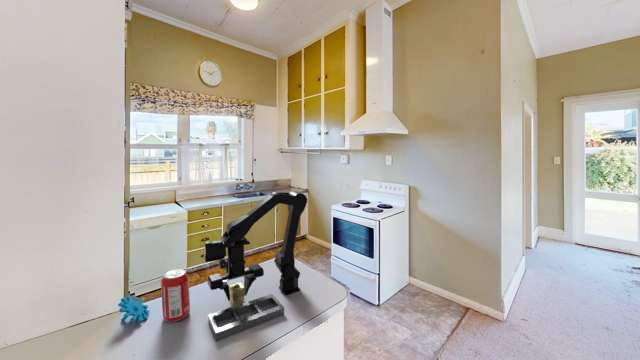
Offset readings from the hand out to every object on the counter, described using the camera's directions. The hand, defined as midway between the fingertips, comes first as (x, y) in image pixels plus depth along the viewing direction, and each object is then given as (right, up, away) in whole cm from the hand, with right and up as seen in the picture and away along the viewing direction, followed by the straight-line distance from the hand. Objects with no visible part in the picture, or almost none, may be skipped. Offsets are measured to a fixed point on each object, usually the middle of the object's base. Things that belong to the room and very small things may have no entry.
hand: (237, 297), depth 93 cm
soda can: (-17, -2, -8) cm, 19 cm away
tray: (+6, -3, -9) cm, 11 cm away
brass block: (0, -2, 0) cm, 2 cm away
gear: (-30, -2, -10) cm, 32 cm away
